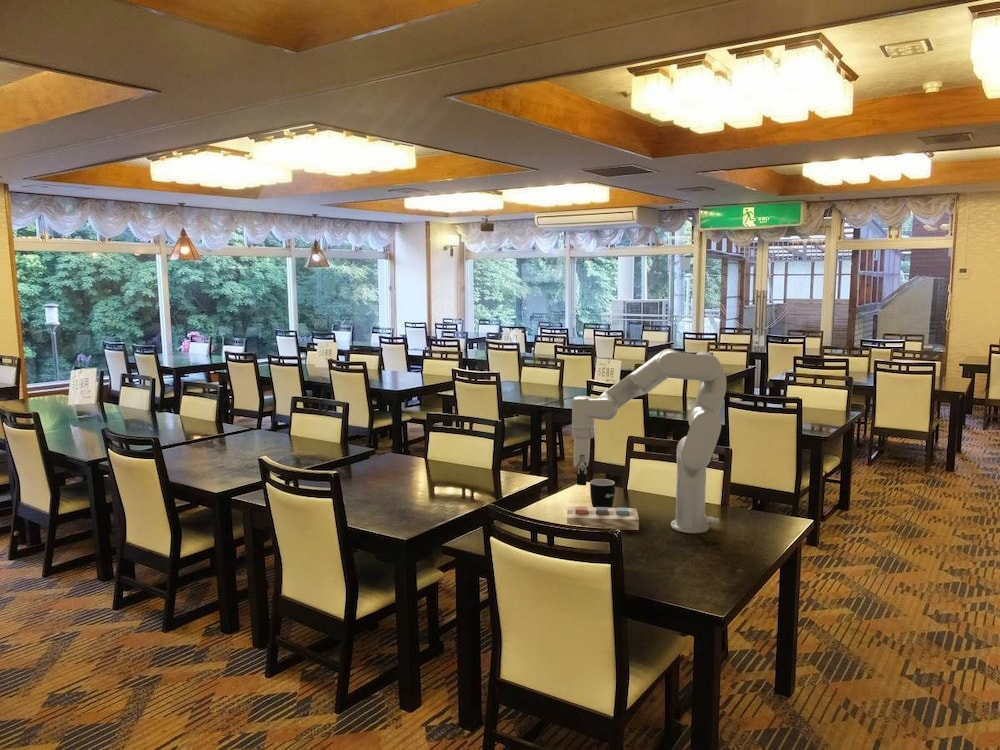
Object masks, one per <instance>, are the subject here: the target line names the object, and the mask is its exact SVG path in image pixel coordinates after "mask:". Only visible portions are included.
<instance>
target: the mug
mask: <svg viewBox="0 0 1000 750" xmlns="http://www.w3.org/2000/svg"><path fill="white" fill-rule="evenodd" d="M589 482H590V483H589V485H590V486H589V487H590V488H589V489H590V490H589V491H590V501H591V505H592V506H591V507H607V508H613V505H614V500H615V495H616V483H615V481H614V480H611V479H607V478H594V479H592V480H591V481H589Z"/></svg>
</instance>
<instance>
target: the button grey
mask: <svg viewBox="0 0 1000 750" xmlns="http://www.w3.org/2000/svg"><path fill="white" fill-rule="evenodd" d="M597 515H608V508H607V507H597Z"/></svg>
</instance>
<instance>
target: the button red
mask: <svg viewBox="0 0 1000 750" xmlns="http://www.w3.org/2000/svg"><path fill="white" fill-rule="evenodd" d="M576 507H577V514H587V507H588V506H581V505H580V506H578V505H577V506H576Z"/></svg>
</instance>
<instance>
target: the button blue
mask: <svg viewBox="0 0 1000 750" xmlns="http://www.w3.org/2000/svg"><path fill="white" fill-rule="evenodd" d="M616 508H617V515H624V516H628V512H629V511H628V508H629V507H616Z"/></svg>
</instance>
